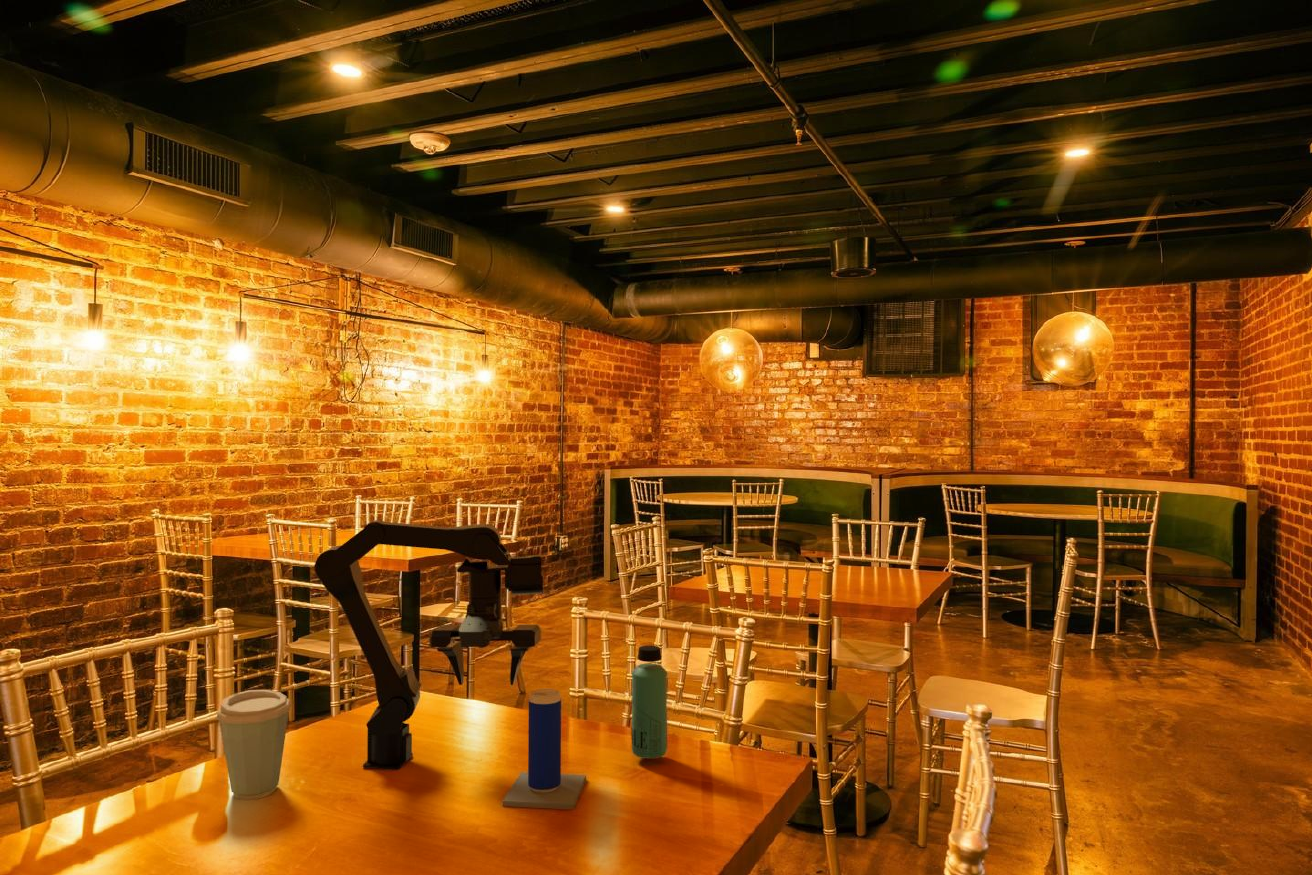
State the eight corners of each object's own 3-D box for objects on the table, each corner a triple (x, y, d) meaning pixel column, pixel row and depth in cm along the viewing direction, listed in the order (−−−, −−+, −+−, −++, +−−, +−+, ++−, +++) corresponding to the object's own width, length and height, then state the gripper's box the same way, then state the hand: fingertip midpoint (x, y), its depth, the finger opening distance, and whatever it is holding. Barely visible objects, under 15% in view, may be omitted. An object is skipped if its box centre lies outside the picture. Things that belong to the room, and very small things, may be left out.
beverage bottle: (672, 755, 145) (673, 643, 146) (660, 769, 139) (661, 652, 139) (638, 751, 148) (639, 640, 148) (624, 764, 141) (625, 649, 141)
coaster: (502, 805, 125) (502, 800, 125) (521, 776, 136) (521, 772, 136) (573, 809, 124) (573, 804, 124) (586, 779, 135) (586, 775, 135)
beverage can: (563, 781, 132) (564, 688, 132) (556, 794, 127) (557, 698, 127) (532, 779, 133) (533, 687, 133) (524, 793, 128) (524, 697, 128)
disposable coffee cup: (305, 785, 132) (306, 692, 132) (247, 812, 122) (248, 712, 122) (259, 773, 136) (260, 684, 136) (199, 799, 127) (200, 702, 127)
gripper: (417, 605, 137) (418, 698, 137) (526, 604, 135) (528, 698, 135) (439, 593, 148) (440, 679, 148) (540, 592, 147) (542, 679, 146)
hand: (486, 684), depth 144 cm, fingers open, 9 cm apart
